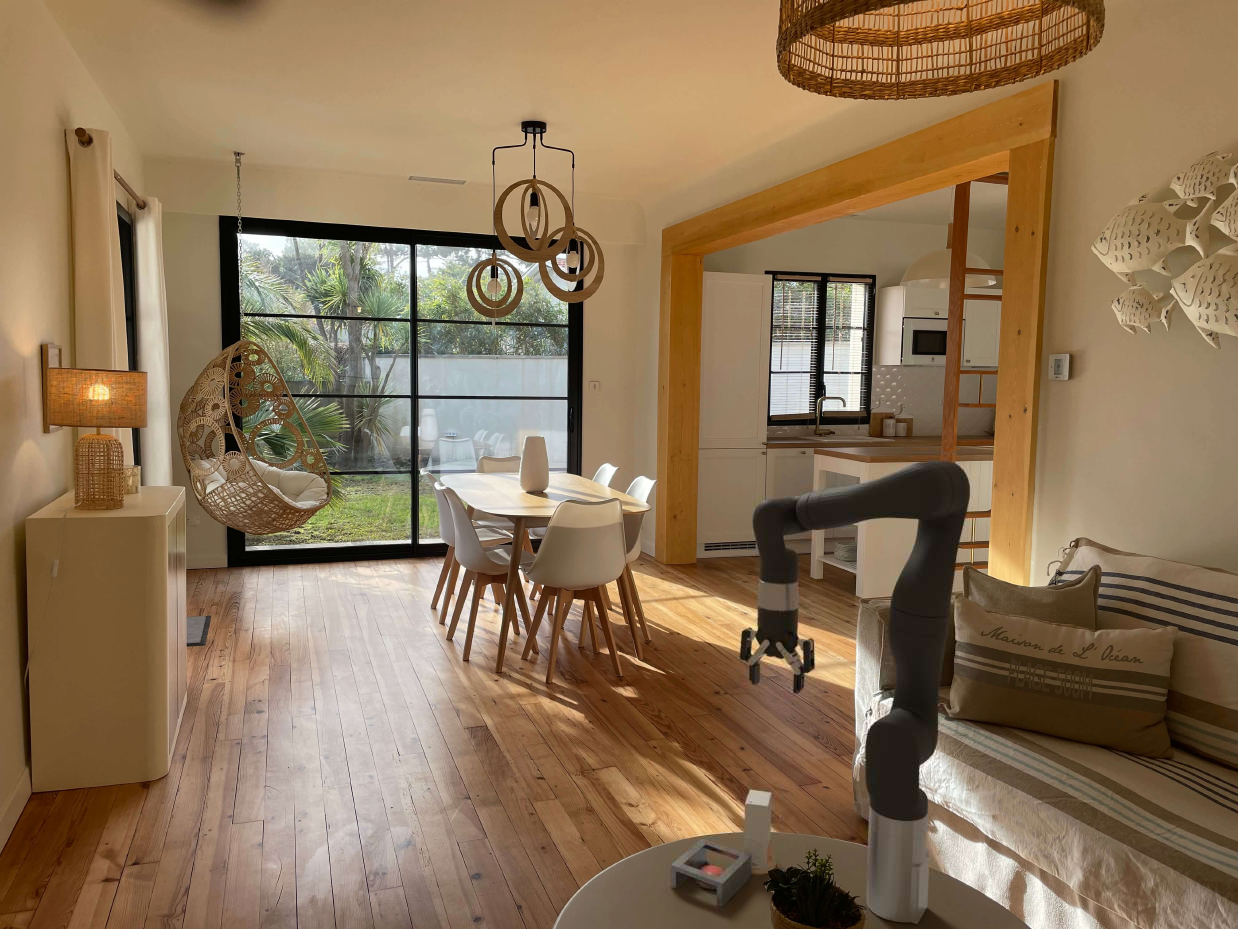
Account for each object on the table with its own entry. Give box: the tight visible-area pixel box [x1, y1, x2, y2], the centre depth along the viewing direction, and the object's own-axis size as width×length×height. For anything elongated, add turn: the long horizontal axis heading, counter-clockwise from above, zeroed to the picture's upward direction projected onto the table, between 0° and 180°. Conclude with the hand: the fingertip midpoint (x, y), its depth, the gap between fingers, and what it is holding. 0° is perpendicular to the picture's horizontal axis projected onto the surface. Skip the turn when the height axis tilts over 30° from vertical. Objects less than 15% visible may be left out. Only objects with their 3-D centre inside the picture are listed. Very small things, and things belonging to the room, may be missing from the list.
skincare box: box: [743, 789, 773, 870], centre depth 159 cm, size 6×4×12 cm
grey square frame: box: [670, 838, 752, 907], centre depth 154 cm, size 10×11×4 cm
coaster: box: [742, 851, 777, 876], centre depth 160 cm, size 7×7×1 cm
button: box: [694, 865, 725, 890], centre depth 154 cm, size 6×6×1 cm
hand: (775, 688), depth 165 cm, fingers open, 8 cm apart
